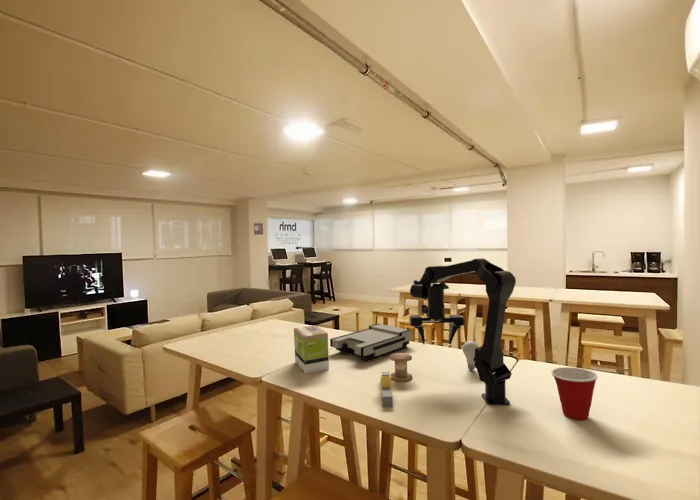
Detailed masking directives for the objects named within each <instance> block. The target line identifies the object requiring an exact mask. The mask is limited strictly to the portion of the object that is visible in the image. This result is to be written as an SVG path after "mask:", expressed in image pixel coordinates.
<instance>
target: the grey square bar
mask: <svg viewBox="0 0 700 500" xmlns="http://www.w3.org/2000/svg"><path fill="white" fill-rule="evenodd" d="M393 400H394V399H393V392H392V386H391V387H382V395H381V402H382V403H381V404H382V407H383V408H384V407H387V408H390V407H392V408H393V404H394V403H393Z"/></svg>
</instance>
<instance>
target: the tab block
mask: <svg viewBox="0 0 700 500" xmlns="http://www.w3.org/2000/svg"><path fill="white" fill-rule="evenodd" d="M391 374H392V372H390V371H382V372H380V393H381V396H382V387H391V388H392V379H391Z"/></svg>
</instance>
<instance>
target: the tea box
mask: <svg viewBox="0 0 700 500" xmlns="http://www.w3.org/2000/svg"><path fill="white" fill-rule="evenodd" d="M328 334H329V333H328V332H326V331H325V330H324V329H323V328H321V327H319V326H317V325H315V324H314V325H306V326H302V327H293V339H294V340H293V342H294V362H295V363H296V364H297V365H298V367H299V368H300V369H301V370H302V371H303V372H304V374H305V373H308V374H312V372H313V373H317V372H323V371H328V370H329V369H330V361H329V337H328V336H329V335H328Z"/></svg>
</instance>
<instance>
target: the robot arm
mask: <svg viewBox="0 0 700 500" xmlns="http://www.w3.org/2000/svg"><path fill="white" fill-rule="evenodd" d="M471 273H476V275H477V277H478V278H479V280H480V281H482V283H484V284H485V293H486V295H487V298H488V305H487V306H488V307H487V313H486V320H485V327H484V335H483V341H482V346H479V347H478V348H475V356H474V359H473V361H475V369H476V371H477V376H478V377H479V381H480V382H482V383H484V386H485V387H484V391H485V392H484V393H481V396H482V398H483V399H484V401H485V402H486V403H487V404H488V405H511V402H510V400H509V399H508V398H507V395H506V389H507V387H506V381H507V380H510V379H511V377H512V371H510V369H509V368H508V366H507V365H506V364H505V363H504V353H503V350H502V347H501V342H502V337H503V336H502V335H503V329H504V323H505V316H506V315H505V314H506V308H507V302H508V300H509V299H510V298H511V296H512V294H513V292H514V290H515V287H516V283H517V282H516V280H517V279H516V276H515V275H514V274H513V273H512V272H510V271H508V270H504V268H502V267H501V266H498V265H495V264H493V263H492V262H490V261H488V260H487V259H485V258H483V257H481V258H480V257H479V258H474V259H471V260H469V261H468V260H467V261H463V262H459V263H453V264H450V265H434V266H433V265H432V266H427V267H425V268H424V272H423V274H422V276H421V278H420V279H415V280H413V284H412V285H411V286H410V288H409V293H410V296H411V297H412V298H414V299H422V300H427V304H421V305H420V310H421V311H420V312H421V315H420V314H410V316H409V320H408V322H409V325H410V327H411V326H412V327H413V328H414V329H417V330H418V332H419V336H420V338H421V342H422V344H423V345H425V343H426V341H425V332H424V326H423V324H437V323H438V324H440V323H441V324H448V325H449V326H448V327H449V328H448V329H449V331H448V344H449V345H451V344H452V342H453V339H454V337H455V335H456V333H457V331H458V330H459V329H461V328H462V327H461V326H463V327H464V326H466V325H465V324H466V323H465V322H466V321H465V318H464V317H463V316H462V315H461V314H449V316H447V317H445V290H449V289H450V287H449V285H447V284H446V283H445V282H444V281H446V280H448V279H449V280H450V278H452V277H454V276H459V275H464V274H471ZM422 315H426V317H422Z"/></svg>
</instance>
